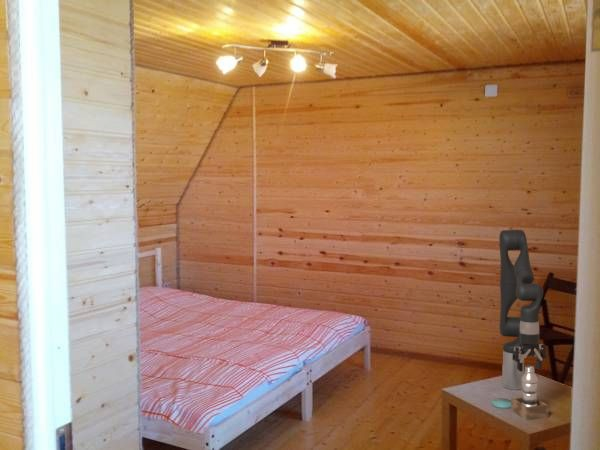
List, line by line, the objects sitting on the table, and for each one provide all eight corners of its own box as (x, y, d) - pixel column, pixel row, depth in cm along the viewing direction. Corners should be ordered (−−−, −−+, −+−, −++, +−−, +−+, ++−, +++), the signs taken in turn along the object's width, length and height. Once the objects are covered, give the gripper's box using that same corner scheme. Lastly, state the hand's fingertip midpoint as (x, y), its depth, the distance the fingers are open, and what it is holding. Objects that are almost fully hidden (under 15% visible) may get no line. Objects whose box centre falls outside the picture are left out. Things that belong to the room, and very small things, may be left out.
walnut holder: (511, 410, 255) (511, 398, 255) (532, 407, 257) (532, 396, 257) (526, 420, 244) (526, 408, 244) (548, 417, 247) (548, 405, 246)
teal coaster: (487, 402, 265) (487, 399, 265) (506, 399, 267) (506, 397, 267) (499, 409, 256) (499, 407, 256) (517, 407, 258) (517, 404, 258)
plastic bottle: (517, 412, 253) (517, 365, 251) (530, 409, 255) (530, 363, 254) (528, 417, 247) (528, 370, 245) (541, 415, 249) (541, 367, 248)
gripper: (538, 328, 254) (538, 365, 255) (508, 330, 250) (508, 369, 251) (550, 332, 246) (550, 371, 247) (519, 335, 243) (519, 374, 244)
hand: (529, 370), depth 249 cm, fingers open, 8 cm apart
